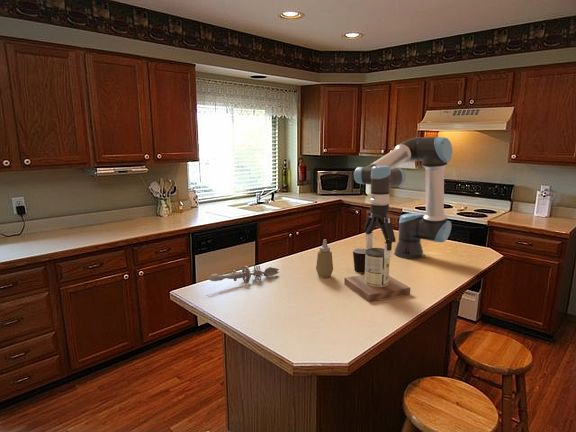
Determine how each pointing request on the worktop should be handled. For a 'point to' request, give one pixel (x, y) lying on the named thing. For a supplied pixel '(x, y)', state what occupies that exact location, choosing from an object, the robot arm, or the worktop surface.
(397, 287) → the walnut block
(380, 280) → the coffee can
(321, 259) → the squeeze bottle
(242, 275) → the spaceship
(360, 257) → the coffee mug
